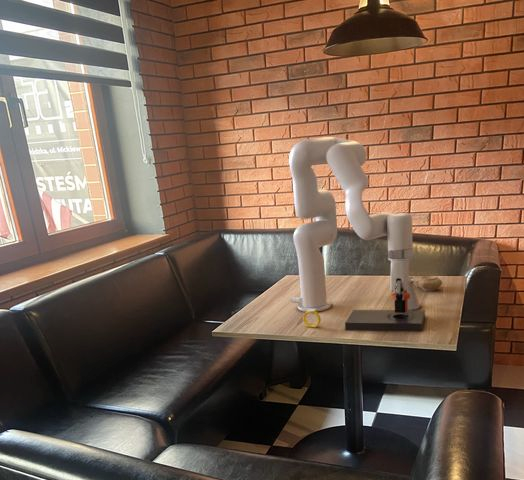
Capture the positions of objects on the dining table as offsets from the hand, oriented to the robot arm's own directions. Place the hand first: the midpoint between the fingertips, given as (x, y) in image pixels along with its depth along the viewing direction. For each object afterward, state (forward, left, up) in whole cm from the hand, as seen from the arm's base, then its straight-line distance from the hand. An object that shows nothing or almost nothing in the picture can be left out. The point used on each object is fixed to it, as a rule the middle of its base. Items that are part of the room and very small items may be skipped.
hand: (401, 308), depth 173 cm
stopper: (0, 0, -1) cm, 1 cm away
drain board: (-5, 0, -5) cm, 7 cm away
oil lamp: (+4, +43, -5) cm, 44 cm away
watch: (-29, -4, -5) cm, 30 cm away
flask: (+1, +18, -5) cm, 19 cm away
